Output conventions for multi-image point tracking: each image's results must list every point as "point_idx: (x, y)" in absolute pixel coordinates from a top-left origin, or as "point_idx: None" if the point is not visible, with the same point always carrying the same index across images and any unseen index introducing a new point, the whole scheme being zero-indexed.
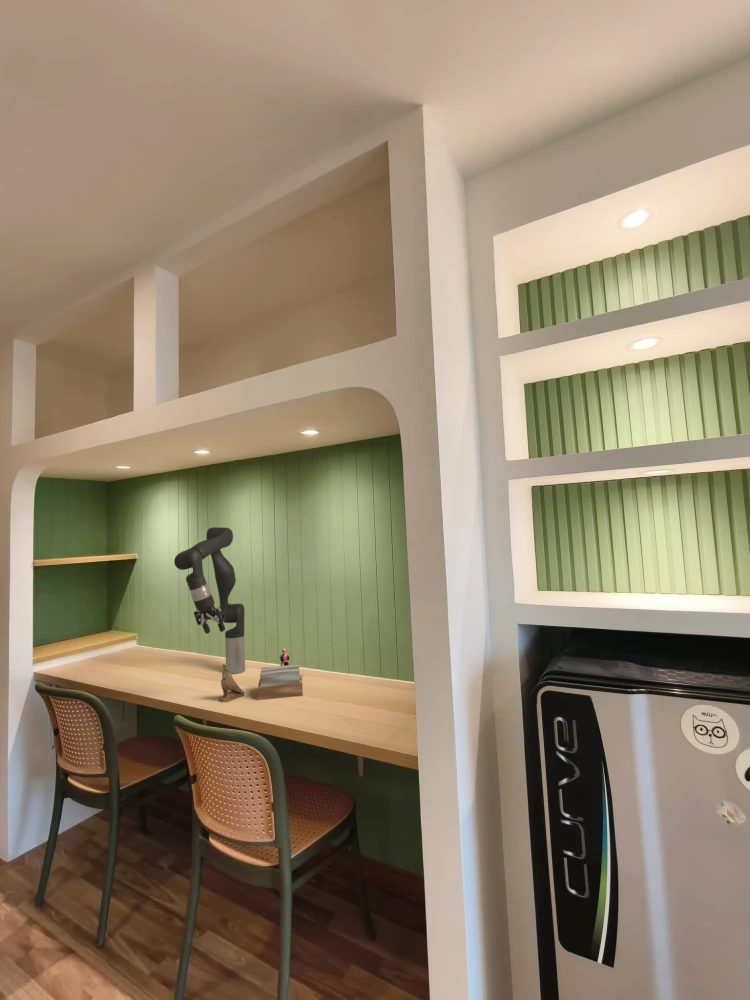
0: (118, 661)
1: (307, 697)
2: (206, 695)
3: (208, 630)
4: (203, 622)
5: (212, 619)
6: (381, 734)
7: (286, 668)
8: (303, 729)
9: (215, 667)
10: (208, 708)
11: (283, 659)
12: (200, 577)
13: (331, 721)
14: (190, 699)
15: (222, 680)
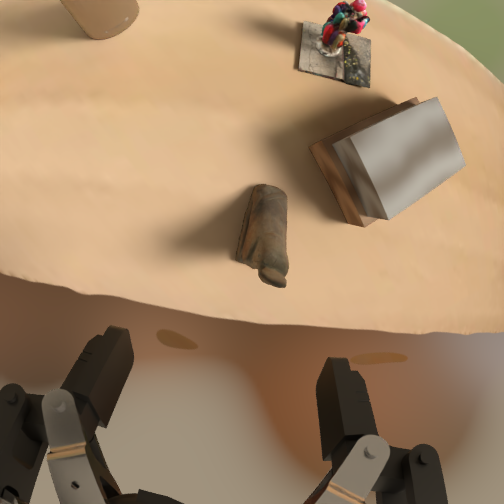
0: None
1: None
2: (157, 224)
3: (122, 353)
4: (108, 469)
5: None
6: None
7: (430, 142)
8: (467, 330)
9: (40, 23)
10: (245, 315)
11: (355, 30)
12: None
13: (491, 288)
14: (135, 268)
15: (254, 267)
